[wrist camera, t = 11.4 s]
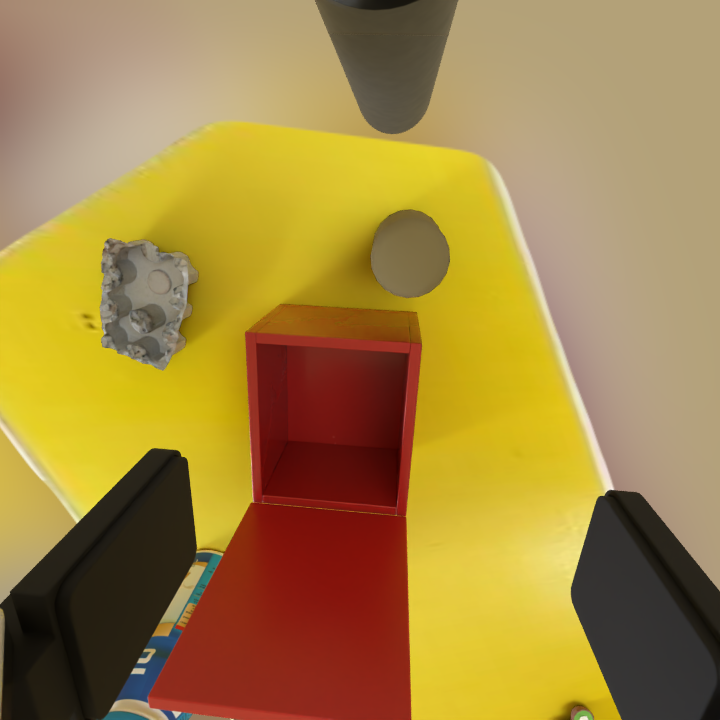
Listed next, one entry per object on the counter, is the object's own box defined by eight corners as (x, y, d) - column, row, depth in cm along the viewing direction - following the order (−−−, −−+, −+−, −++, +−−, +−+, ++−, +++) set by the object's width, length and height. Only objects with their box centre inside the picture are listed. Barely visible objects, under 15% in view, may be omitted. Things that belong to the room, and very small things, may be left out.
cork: (359, 235, 38) (344, 246, 27) (420, 194, 36) (428, 189, 26) (396, 294, 39) (394, 325, 29) (455, 257, 38) (477, 276, 27)
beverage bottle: (244, 608, 53) (160, 826, 35) (177, 593, 54) (57, 802, 35) (251, 554, 51) (163, 760, 32) (180, 539, 51) (51, 735, 32)
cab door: (146, 696, 21) (158, 780, 23) (411, 730, 20) (402, 814, 22) (250, 501, 35) (253, 562, 37) (406, 516, 35) (400, 577, 36)
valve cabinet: (280, 303, 40) (244, 331, 31) (417, 312, 40) (422, 343, 30) (282, 442, 45) (252, 502, 36) (404, 452, 44) (406, 516, 35)
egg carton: (131, 229, 39) (102, 231, 36) (210, 261, 40) (189, 266, 36) (111, 335, 43) (82, 347, 39) (183, 363, 43) (162, 378, 39)
